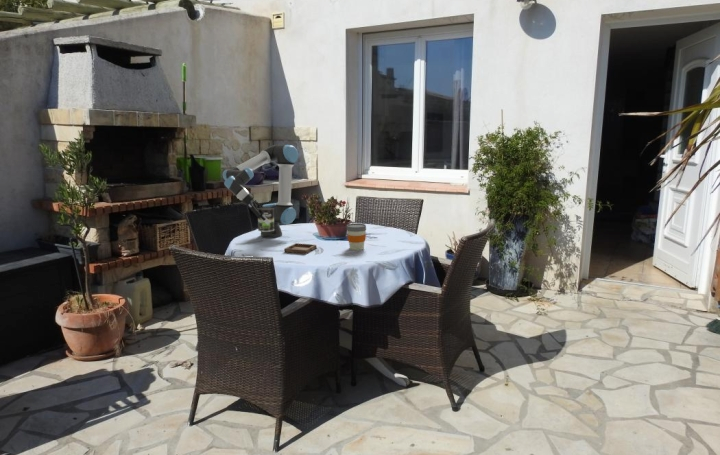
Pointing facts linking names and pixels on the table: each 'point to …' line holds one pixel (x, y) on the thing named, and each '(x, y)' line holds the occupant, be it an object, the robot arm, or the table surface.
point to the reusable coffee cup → (356, 236)
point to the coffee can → (269, 214)
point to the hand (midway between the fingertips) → (270, 221)
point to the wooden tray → (300, 248)
